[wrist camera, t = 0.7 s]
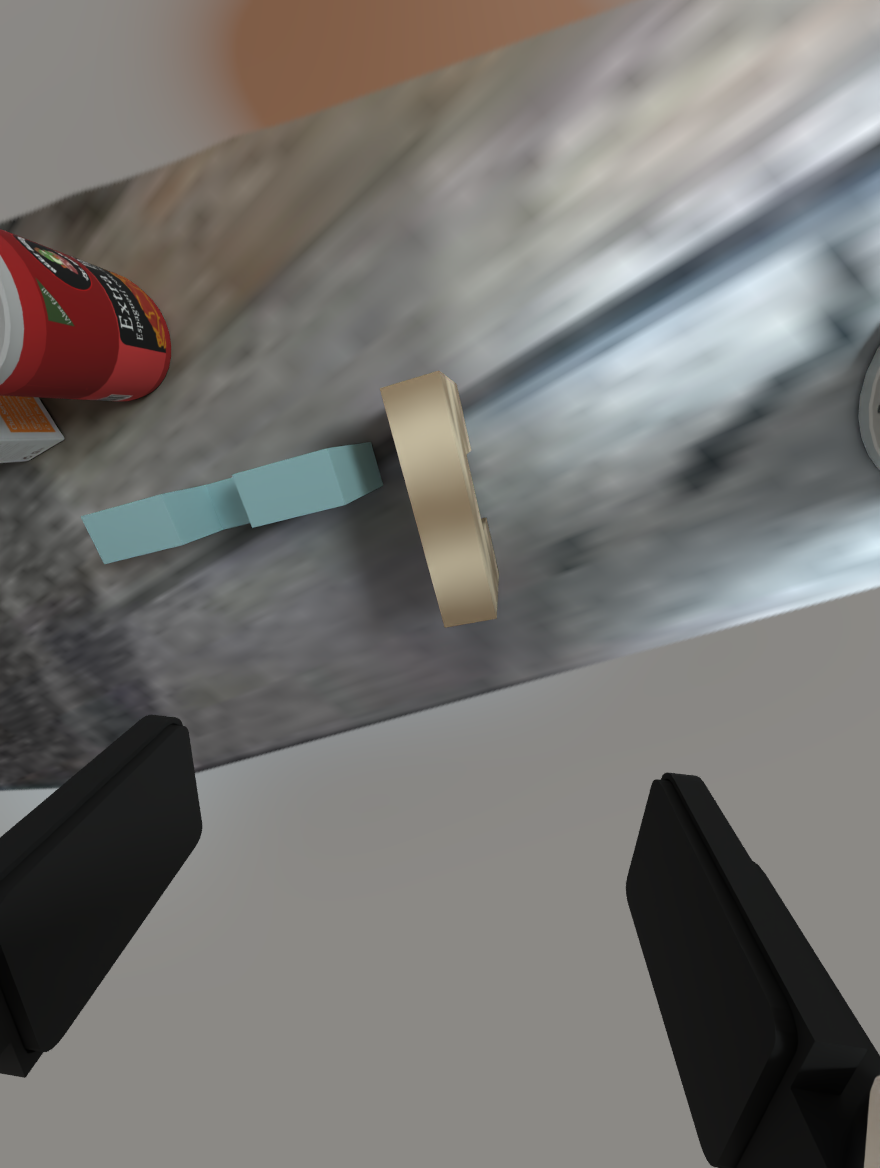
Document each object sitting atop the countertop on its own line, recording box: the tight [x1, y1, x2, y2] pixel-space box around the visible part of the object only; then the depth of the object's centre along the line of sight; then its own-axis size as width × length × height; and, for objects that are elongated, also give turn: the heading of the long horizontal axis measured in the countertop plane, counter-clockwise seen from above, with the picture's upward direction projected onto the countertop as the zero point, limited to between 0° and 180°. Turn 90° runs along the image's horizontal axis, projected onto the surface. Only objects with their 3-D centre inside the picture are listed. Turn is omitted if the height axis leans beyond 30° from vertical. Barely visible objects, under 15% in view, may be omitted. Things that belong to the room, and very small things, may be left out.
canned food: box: [0, 229, 171, 401], centre depth 26 cm, size 8×8×11 cm
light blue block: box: [81, 442, 383, 564], centre depth 29 cm, size 16×3×8 cm, turn 104°
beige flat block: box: [380, 371, 499, 628], centre depth 27 cm, size 13×3×8 cm, turn 14°
